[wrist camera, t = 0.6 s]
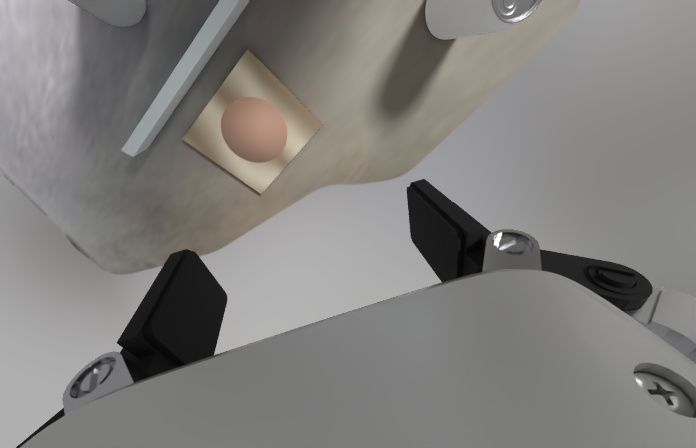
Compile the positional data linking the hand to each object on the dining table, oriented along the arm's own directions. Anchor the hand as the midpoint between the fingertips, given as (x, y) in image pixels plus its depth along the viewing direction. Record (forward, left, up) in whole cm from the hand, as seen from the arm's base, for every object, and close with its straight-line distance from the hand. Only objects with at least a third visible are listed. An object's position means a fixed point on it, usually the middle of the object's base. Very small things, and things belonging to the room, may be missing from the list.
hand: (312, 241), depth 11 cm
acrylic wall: (+4, -12, -29) cm, 31 cm away
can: (-24, +5, -29) cm, 38 cm away
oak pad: (+4, -3, -29) cm, 29 cm away
